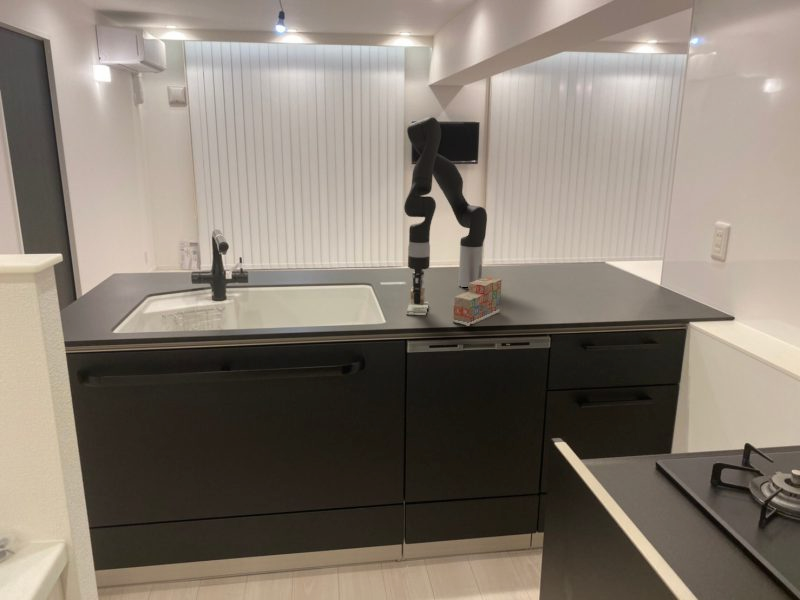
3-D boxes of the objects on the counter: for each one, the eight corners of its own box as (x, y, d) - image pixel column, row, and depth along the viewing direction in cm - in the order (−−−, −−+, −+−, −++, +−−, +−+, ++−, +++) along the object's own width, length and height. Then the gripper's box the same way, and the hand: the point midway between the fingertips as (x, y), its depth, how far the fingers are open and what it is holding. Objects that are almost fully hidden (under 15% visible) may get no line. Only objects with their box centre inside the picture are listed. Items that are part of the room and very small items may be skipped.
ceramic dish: (428, 306, 216) (428, 302, 215) (426, 315, 204) (426, 311, 204) (409, 305, 216) (409, 301, 216) (406, 314, 205) (406, 310, 204)
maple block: (424, 301, 211) (424, 288, 210) (423, 305, 207) (423, 291, 206) (411, 301, 212) (411, 287, 211) (410, 304, 207) (410, 290, 206)
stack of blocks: (469, 327, 193) (470, 290, 190) (452, 323, 197) (454, 287, 193) (499, 312, 210) (502, 279, 206) (484, 309, 213) (486, 276, 210)
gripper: (428, 258, 198) (426, 307, 202) (430, 251, 211) (429, 297, 216) (406, 258, 198) (405, 306, 203) (410, 250, 212) (409, 296, 217)
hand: (417, 301), depth 209 cm, fingers closed on maple block, 4 cm apart
